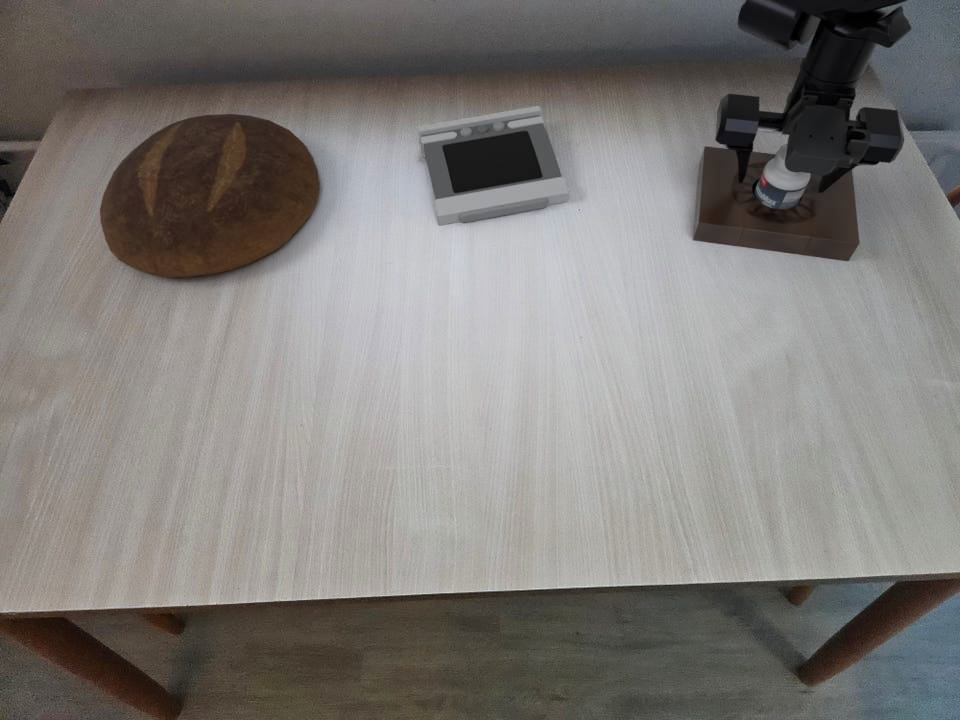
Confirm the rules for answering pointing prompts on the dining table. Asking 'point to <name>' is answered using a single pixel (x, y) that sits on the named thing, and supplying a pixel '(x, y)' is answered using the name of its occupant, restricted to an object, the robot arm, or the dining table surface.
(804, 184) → the pill bottle
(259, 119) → the bread
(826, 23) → the robot arm
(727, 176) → the socket pad
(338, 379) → the dining table surface
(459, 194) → the grey boxy piece
